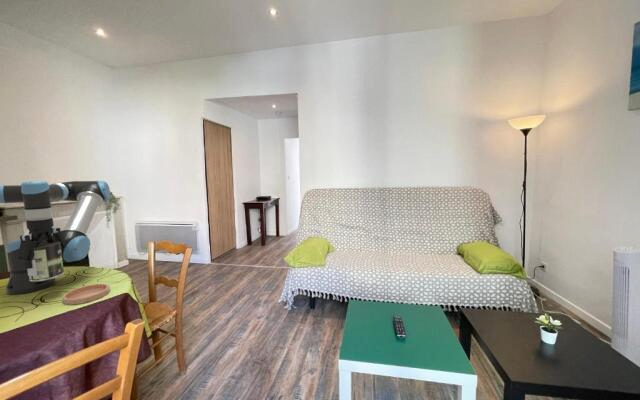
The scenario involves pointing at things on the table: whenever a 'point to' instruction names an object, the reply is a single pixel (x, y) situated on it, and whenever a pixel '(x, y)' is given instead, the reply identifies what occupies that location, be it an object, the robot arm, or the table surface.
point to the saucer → (85, 294)
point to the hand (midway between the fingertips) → (46, 270)
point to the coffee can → (47, 261)
